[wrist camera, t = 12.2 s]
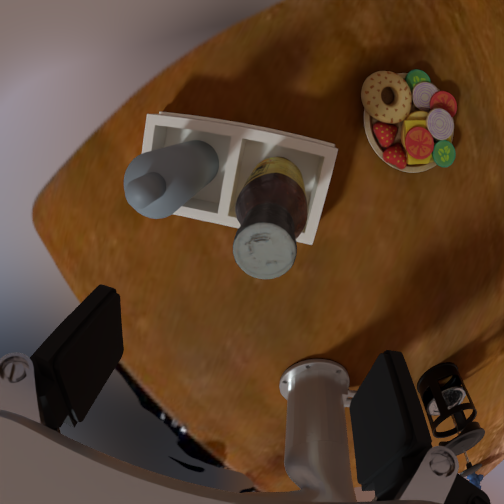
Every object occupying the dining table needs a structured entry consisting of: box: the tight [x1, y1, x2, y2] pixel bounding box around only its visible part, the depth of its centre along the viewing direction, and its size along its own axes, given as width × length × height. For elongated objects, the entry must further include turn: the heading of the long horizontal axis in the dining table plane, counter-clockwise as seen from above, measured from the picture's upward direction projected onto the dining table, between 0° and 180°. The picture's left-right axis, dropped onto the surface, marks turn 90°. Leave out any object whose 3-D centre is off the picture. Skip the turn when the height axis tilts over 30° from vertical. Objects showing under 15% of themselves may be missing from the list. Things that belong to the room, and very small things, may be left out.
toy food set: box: [361, 69, 457, 173], centre depth 31 cm, size 13×13×3 cm
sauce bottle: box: [233, 156, 307, 279], centre depth 28 cm, size 7×6×20 cm
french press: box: [417, 362, 485, 477], centre depth 39 cm, size 12×9×23 cm
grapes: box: [467, 472, 483, 489], centre depth 64 cm, size 12×7×12 cm, turn 48°
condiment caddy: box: [124, 112, 338, 245], centre depth 30 cm, size 22×12×17 cm, turn 79°
